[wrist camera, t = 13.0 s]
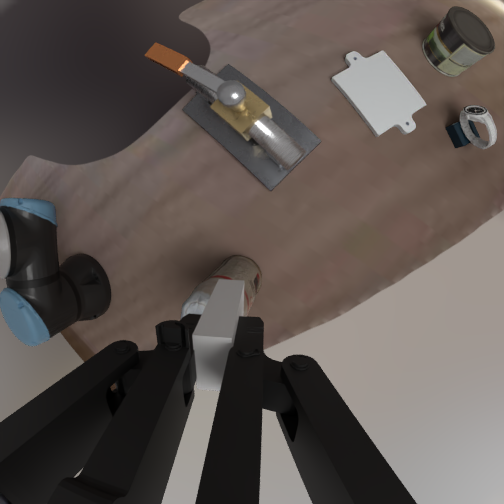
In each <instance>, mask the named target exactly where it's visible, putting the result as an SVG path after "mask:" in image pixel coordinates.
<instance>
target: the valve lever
mask: <svg viewBox="0 0 504 504" xmlns="http://www.w3.org/2000/svg"><path fill="white" fill-rule="evenodd" d="M145 56H146V57H147V58H148V59H150V60H151V61H153V62H155V63H157V64H159V65H161V66H162V67H164V68H166V69H168V70H170V71H172V72H174V73H176V74H177V75H179V76H181V77H182V76H183V75H185V76H187V77H189V78H190V79H192V80H194V81H196V82H197V83H199V84H201V85H203V86H204V87H206V88H208V89H209V90H211V91H213V92H214V93H216V94H217V98H218V99H219V101H220V102H221V103H222V104H223V105H224V106H225V107H227V108H237V107H239V106H241V105H242V104H243V103H244V102H245V100H246V91H245V89H244V87H243V85H242V84H241V83H240V82H238V81H235V80H228V81H224V80H222V79H220V78H219V77H217V76H215V75H213V74H211V73H210V72H208V71H206V70H204V69H202V68H200V67H199V66H197V65H195V64H193V63H192V62H191V60H190V59H189V58H188V57H186V56H184V55H181V54H180V53H178V52H175V51H173V50H171V49H169V48H167V47H165V46H163V45H160V44H158V43H155V44H154V45H153V46H152V47H151V48H150V49H149V51H148V52H147V53H146V54H145Z"/></svg>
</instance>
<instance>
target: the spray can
mask: <svg viewBox="0 0 504 504" xmlns="http://www.w3.org/2000/svg"><path fill="white" fill-rule="evenodd" d="M261 275H262V274H261V271H260V269H259V267H258V266H257V265H256V264H255V262H254V261H253V260H251V259H249V258H246V257H243V256H237V255H234V256H232V257H230V258H228V259H226V260H224V262H223V263H222V265H221V266H220V267H218V268H217V269H216V270H215V271H214V272H213V273H212V274H211V275H210V276H209V277H208V278H207V279H205V280H204V281H203V282H202V283H201V284H200V285H198V286H197V287H196V288H195V289H194V291H193V292H192V294H191V296H190V297H189V298H188V299H187V300H186V301H185V302H184V304H183V305H182V312H181V319H182V317H184V316H185V315H187V314H189V313H190V314H202V313H203V311H204V309H205V307H206V305H207V303H208V301H209V299H210V297H211V294H212V292H213V290H214V288H215V286H216V284H217V282H218V280H219V279H225V280H244V316H245V317H247V315H248V312H249V310H250V308H251V305H252V303H253V301H254V299H255V296H256V294H257V293H258V291H259V289H260V287H261Z"/></svg>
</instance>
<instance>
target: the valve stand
mask: <svg viewBox="0 0 504 504" xmlns="http://www.w3.org/2000/svg"><path fill="white" fill-rule="evenodd" d="M198 66H199V67H200V68H202V69H204V70H206V71H208V72H210V73H211V74H213V75H215V76H217V77H219V78H220V79H222V80H224V81H228V80H235V81H238V82H240V83H241V84H242V85H243V87H244V89H245V91H246V100H245V102H244V103H243V104H242V105H241V106H239V107H237V108H227V107H225V106H224V105H223V104H222V103H221V102H220V101H219V99H218V98H217V94H216V93H214V92H213V91H211V90H209V89H208V88H206V87H204V86H203V85H201V84H199V83H197V82H196V81H194V80H192V79H190V78H189V77H186V83H188V84H189V85H190V86H191V87H192V88H194V89H195V90H196V91H197V92H196V93H197V95H196V96H195V97H194V98H193V99H192V100H191V101H190V102H189V103H188V104H187V105H186V106H185V107H184V108H183V111H184V112H186V113H187V114H188V115H189V116H190V117H191V118H193V119H194V120H195V121H196V122H197V123H198V124H199V125H201V126H202V127H203V128H204V129H205V130H206V131H207V132H208V133H210V134H211V135H212V136H213V137H214V138H215V139H216V140H217V141H218V142H219V143H221V144H222V145H223V146H224V147H225V148H226V149H227V150H228V151H229V152H230V153H231V154H233V155H234V156H235V157H236V158H237V159H238V160H239V161H240V162H241V163H242V164H243V165H244V166H245V167H246V168H248V169H249V170H250V171H251V172H252V173H253V174H254V175H255V176H256V177H257V178H258V179H259V180H260V181H261V182H262V183H263V184H264V185H265V186H266V187H267V188H268V189H269V190H270V191H272V190H273V189H274V188H275V187H276V186H277V185H278V184H279V183H280V182H281V181H282V180H283V179H284V178H285V177H286V176H287V175H288V174H289V173H290V172H291V171H292V170H293V169H294V168H295V167H296V166H297V165H298V164H299V163H300V162H301V161H302V160H303V159H304V158H305V157H306V156H307V155H308V154H309V153H310V152H311V151H312V150H314V149H315V148H316V147H317V146H318V145H319V144H320V143H321V140H320V139H319V138H318V137H317V136H316V135H315V134H313V133H312V132H311V131H310V130H309V129H308V128H307V127H306V126H305V125H304V124H303V123H301V122H300V121H299V120H298V119H297V118H296V117H295V116H294V115H292V114H291V113H290V112H289V111H288V110H287V109H286V108H284V107H283V106H282V105H281V104H280V103H278V102H277V101H276V100H275V99H274V98H272V97H271V96H270V95H269V94H267V93H266V92H265V91H264V90H263V89H261V88H260V87H259V86H257V85H256V84H255V83H254V82H252V81H251V80H250V79H248V78H247V77H246V76H244V75H243V74H242V73H240V72H239V71H238V70H236V69H235V68H234V67H232V66H231V65H229V64H228V65H227V66H226V67H225V68H224V69H223V70H222V71H221V72H219V73H218V74H217V75H216V74H214V73H213V72H211V71H210V70H209V69H207V68H206V67H205V66H203V65H198Z"/></svg>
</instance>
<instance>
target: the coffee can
mask: <svg viewBox="0 0 504 504" xmlns="http://www.w3.org/2000/svg"><path fill="white" fill-rule="evenodd" d="M422 48H423V52H424V55H425V57H426V59H427V60H428V62H429V63H430V64H431V65H432V66H433V67H434V68H435V69H436V70H437V71H439V72H440V73H442V74H444V75H446V76H450V77H455V76H458V75H459V74H460V73H461V72H463V71H464V70H466V69H467V68H469V67H470V66H472V65H473V64H474V63H476V62H477V61H479V60H480V59H482V58H483V57H485V56H486V55H488V54H490V53H492V52H493V51H494V49H495V43H494V39H493V37H492V35H491V33H490V31H489V29H488V28H487V27H486V25H485V24H484V23H483V22H482V21H481V20H480V19H479V18H478V17H477V16H476V15H475V14H473V13H472V12H470V11H469V10H467V9H465V8H462V7H457V6H455V7H452V8H450V10H449V11H448V13H447V14H446V16H445V17H444V18H443V19H442V20H441V21H440V23H439V24H438V25H437V26H436V27H435V29H434V30H433V31H432V32H431V33H430V34H429V36H428V37H427V38H426V39H425V40H424V41H423V44H422Z"/></svg>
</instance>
